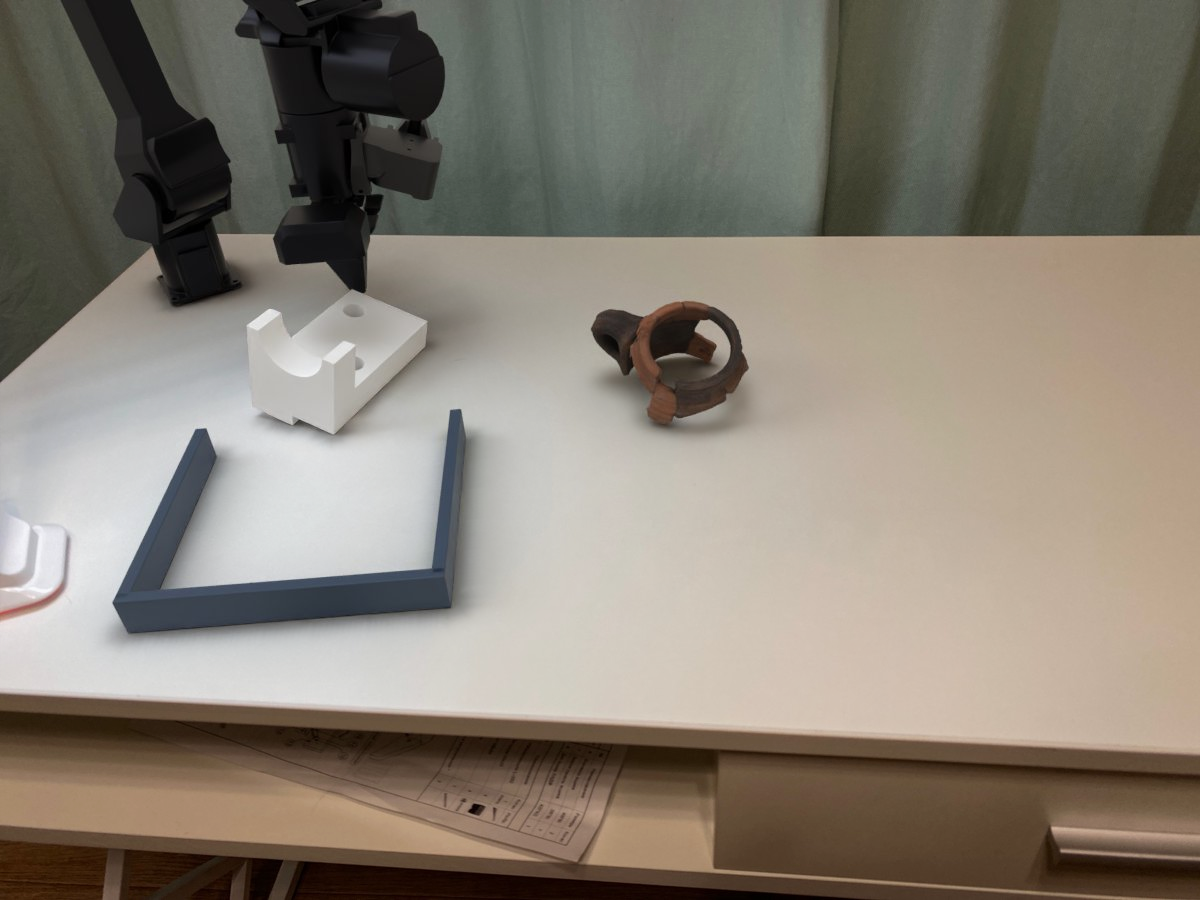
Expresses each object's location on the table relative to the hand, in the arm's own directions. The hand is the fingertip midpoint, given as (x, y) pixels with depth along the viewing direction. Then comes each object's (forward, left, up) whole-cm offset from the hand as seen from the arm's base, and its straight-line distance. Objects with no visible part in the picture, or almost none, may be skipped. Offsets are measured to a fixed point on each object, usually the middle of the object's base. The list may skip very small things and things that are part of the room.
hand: (359, 292), depth 79 cm
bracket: (+7, -4, -4) cm, 9 cm away
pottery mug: (+23, +15, -4) cm, 28 cm away
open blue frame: (+22, -12, -4) cm, 25 cm away
